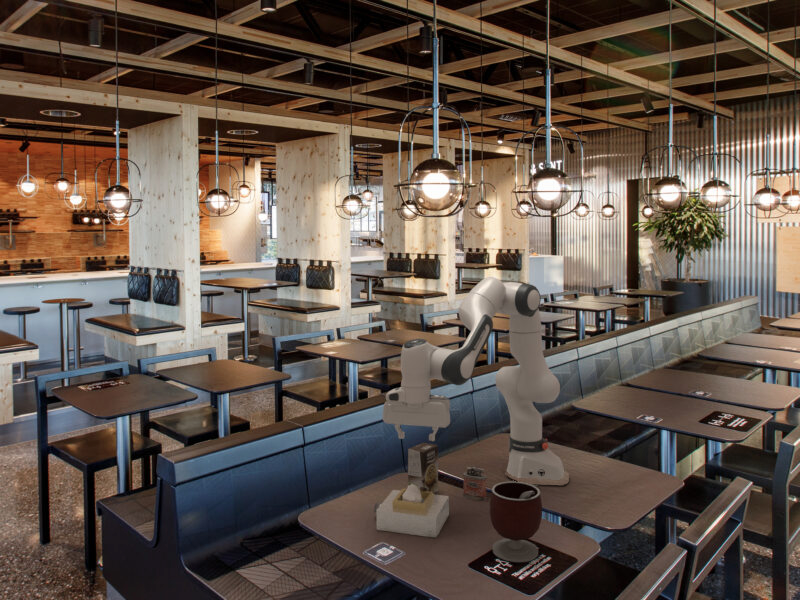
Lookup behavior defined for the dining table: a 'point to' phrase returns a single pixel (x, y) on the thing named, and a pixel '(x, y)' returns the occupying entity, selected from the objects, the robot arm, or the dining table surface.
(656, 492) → the dining table surface
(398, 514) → the white box
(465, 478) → the lighter
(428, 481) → the coffee box
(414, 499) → the roll
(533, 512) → the mate gourd
